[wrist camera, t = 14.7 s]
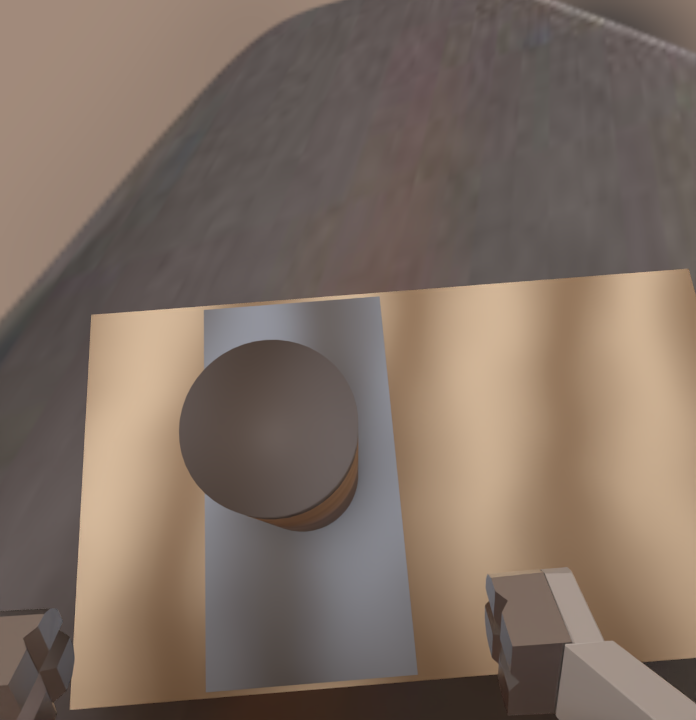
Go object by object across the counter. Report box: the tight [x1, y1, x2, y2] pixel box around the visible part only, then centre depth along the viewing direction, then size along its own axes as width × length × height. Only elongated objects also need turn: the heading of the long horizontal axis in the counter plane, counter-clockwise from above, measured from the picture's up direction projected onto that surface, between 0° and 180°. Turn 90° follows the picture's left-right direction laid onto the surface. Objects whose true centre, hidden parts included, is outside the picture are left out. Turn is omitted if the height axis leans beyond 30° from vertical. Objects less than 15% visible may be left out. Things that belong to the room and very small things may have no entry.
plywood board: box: [70, 269, 696, 710], centre depth 23 cm, size 24×14×2 cm, turn 94°
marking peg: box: [179, 340, 358, 532], centre depth 18 cm, size 4×4×9 cm
